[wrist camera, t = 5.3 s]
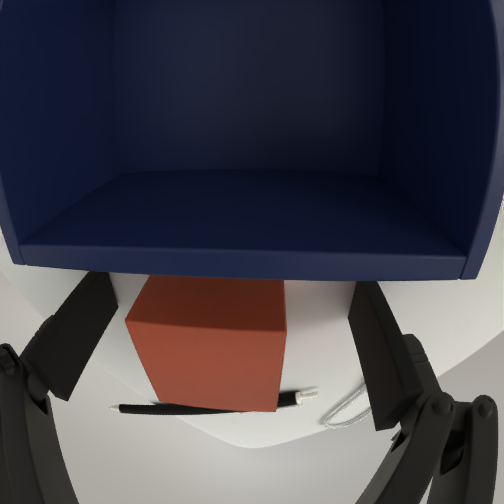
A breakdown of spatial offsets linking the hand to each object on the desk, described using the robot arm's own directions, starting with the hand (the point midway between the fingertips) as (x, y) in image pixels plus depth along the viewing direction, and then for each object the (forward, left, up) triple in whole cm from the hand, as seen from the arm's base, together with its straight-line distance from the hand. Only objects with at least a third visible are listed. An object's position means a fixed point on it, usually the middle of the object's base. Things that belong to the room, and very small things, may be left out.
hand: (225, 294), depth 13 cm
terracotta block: (0, 0, 0) cm, 0 cm away
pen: (+3, +11, 0) cm, 12 cm away
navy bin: (-1, -11, 0) cm, 11 cm away
